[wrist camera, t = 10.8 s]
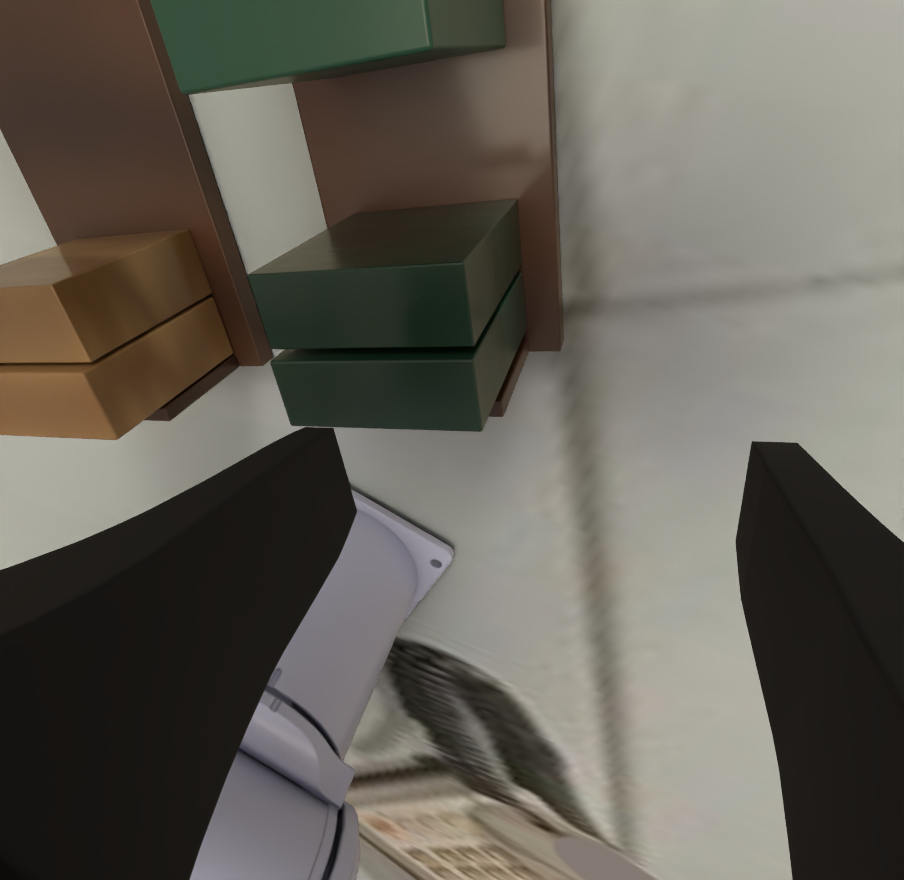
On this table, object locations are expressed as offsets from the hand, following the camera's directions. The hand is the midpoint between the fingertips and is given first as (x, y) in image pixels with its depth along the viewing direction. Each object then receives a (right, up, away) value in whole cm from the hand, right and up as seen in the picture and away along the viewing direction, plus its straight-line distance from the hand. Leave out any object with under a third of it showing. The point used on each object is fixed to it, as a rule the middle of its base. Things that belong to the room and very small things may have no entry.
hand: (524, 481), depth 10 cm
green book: (-2, +11, +4) cm, 12 cm away
